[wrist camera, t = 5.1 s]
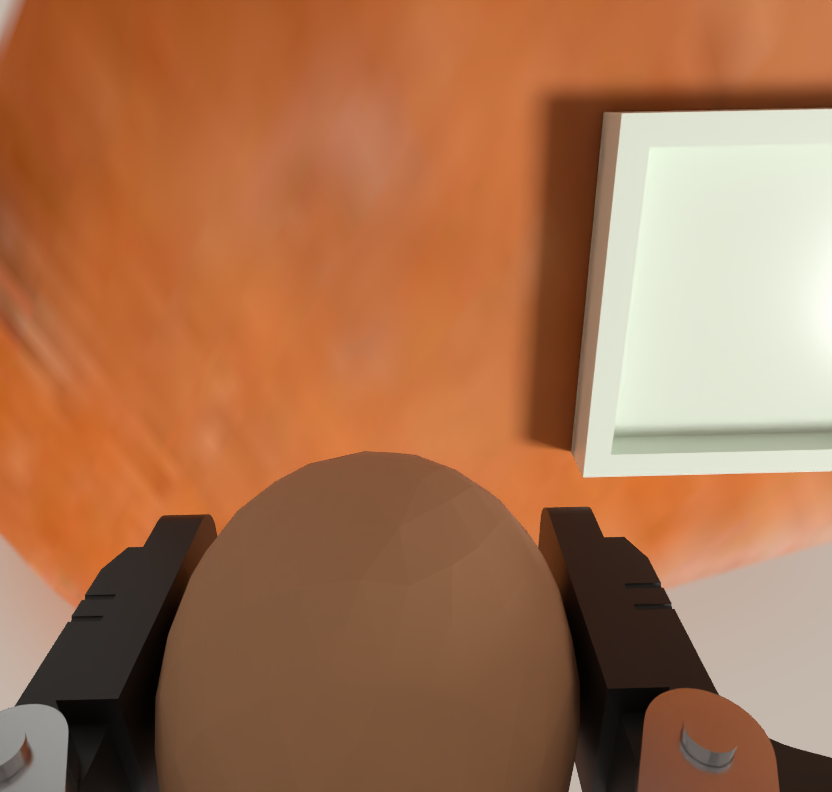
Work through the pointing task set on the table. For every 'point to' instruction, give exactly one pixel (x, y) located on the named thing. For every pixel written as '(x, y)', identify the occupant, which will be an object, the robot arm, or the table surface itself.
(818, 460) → the dish
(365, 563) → the egg
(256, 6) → the table surface
